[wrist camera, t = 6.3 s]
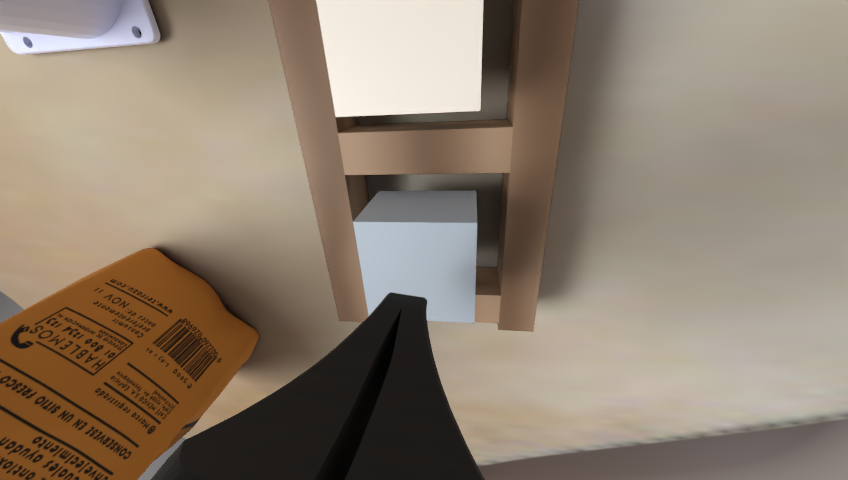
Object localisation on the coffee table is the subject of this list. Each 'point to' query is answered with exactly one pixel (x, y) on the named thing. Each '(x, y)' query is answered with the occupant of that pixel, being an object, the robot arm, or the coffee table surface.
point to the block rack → (438, 154)
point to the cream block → (402, 55)
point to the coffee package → (113, 370)
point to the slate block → (421, 250)
